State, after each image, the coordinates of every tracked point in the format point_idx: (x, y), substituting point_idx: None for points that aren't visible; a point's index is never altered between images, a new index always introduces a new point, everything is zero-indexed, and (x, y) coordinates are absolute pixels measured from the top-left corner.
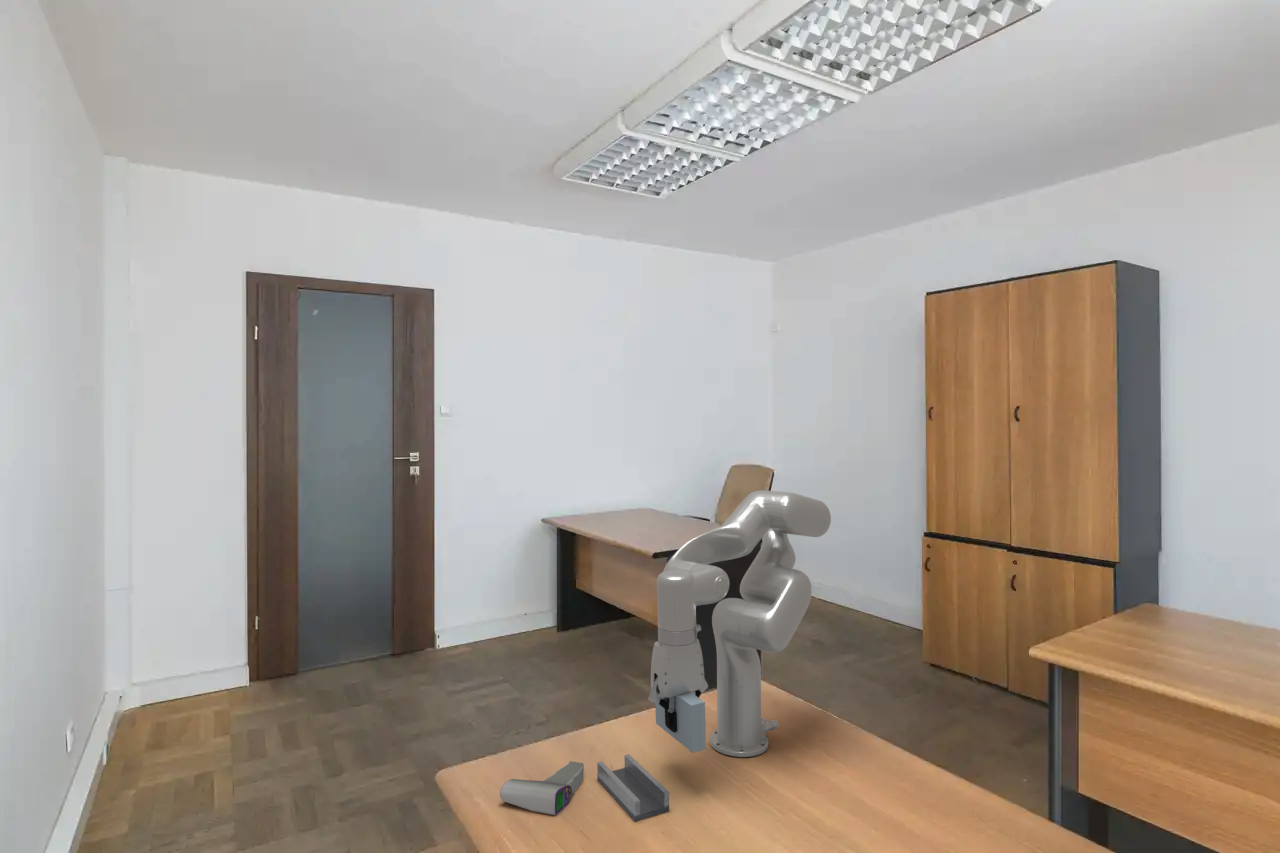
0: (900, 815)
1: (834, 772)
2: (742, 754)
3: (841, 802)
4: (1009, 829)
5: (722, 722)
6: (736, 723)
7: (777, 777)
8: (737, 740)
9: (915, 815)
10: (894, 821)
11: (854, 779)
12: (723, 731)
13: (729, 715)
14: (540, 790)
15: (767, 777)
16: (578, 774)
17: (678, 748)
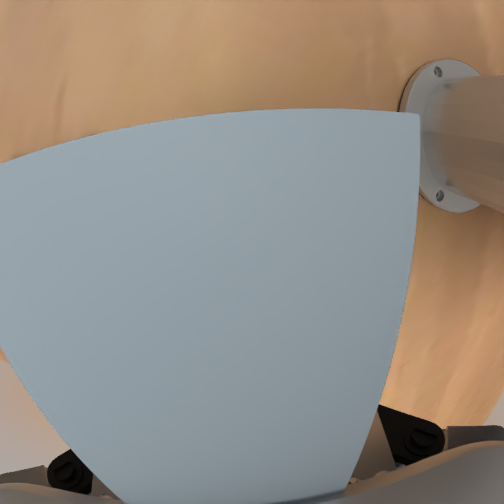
0: (446, 406)
1: (487, 311)
2: (432, 203)
3: (429, 382)
4: (475, 420)
5: (468, 145)
6: (487, 196)
7: (424, 302)
8: (453, 186)
9: (454, 406)
10: (432, 415)
11: (485, 334)
12: (449, 146)
13: (496, 182)
14: None
15: (411, 296)
16: None
17: (307, 59)
